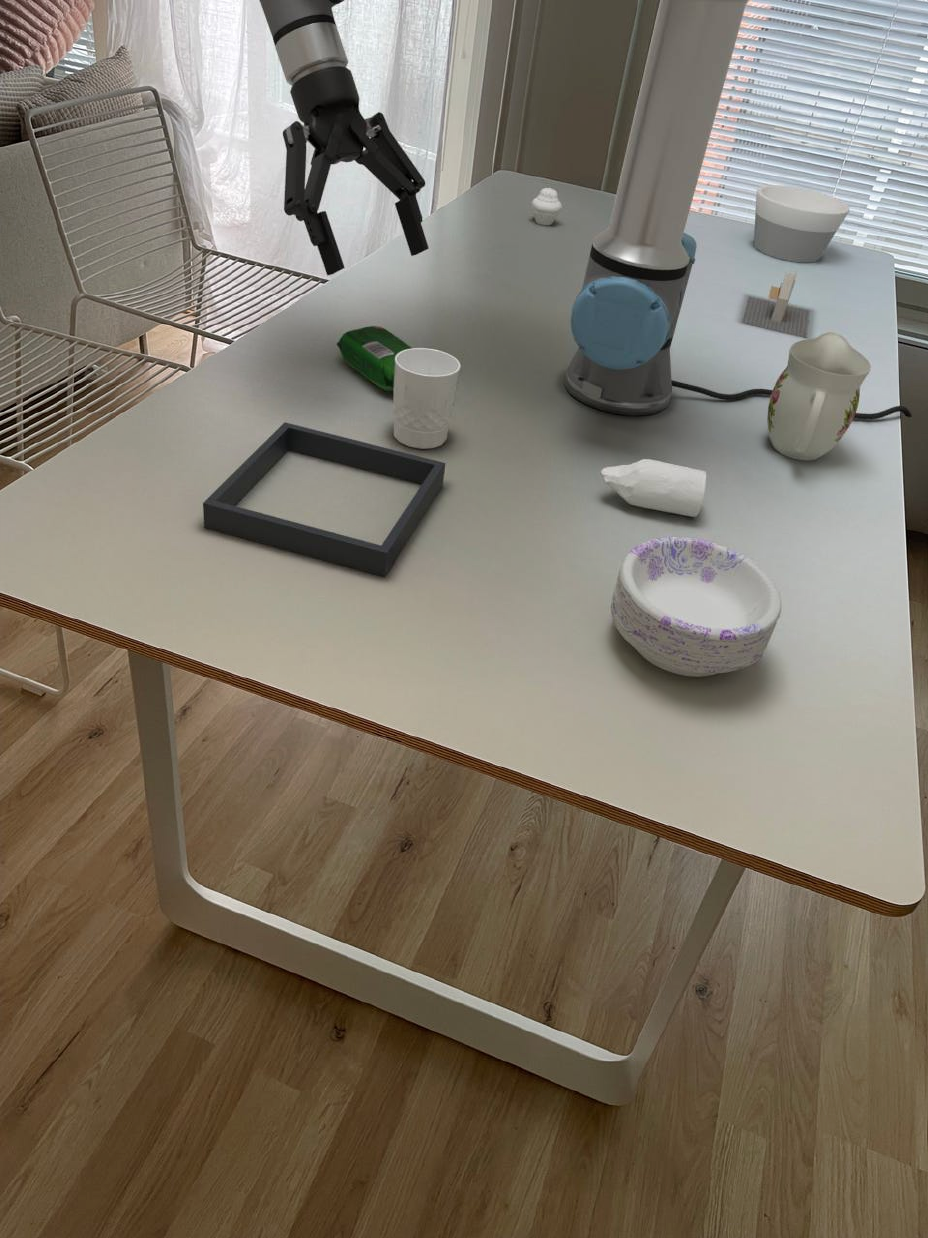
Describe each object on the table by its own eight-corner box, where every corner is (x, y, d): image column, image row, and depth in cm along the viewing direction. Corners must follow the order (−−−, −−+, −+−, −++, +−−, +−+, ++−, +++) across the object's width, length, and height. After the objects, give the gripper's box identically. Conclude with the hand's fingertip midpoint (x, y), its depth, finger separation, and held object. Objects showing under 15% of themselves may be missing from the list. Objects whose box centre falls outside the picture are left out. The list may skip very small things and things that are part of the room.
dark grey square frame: (442, 485, 113) (445, 462, 111) (385, 577, 98) (387, 552, 96) (284, 444, 116) (284, 421, 114) (203, 527, 100) (202, 502, 99)
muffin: (527, 224, 198) (533, 188, 194) (530, 216, 203) (536, 181, 199) (557, 229, 198) (563, 193, 194) (559, 221, 203) (565, 186, 199)
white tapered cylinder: (595, 482, 118) (605, 441, 115) (693, 501, 118) (705, 460, 114) (593, 507, 113) (603, 465, 110) (695, 526, 113) (708, 485, 109)
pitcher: (747, 468, 126) (781, 370, 117) (762, 414, 140) (794, 322, 131) (832, 492, 124) (873, 393, 115) (839, 435, 137) (876, 343, 129)
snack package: (390, 405, 127) (393, 368, 124) (331, 357, 137) (332, 321, 133) (434, 397, 131) (439, 361, 128) (374, 350, 140) (376, 315, 137)
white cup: (387, 419, 124) (394, 345, 118) (448, 423, 125) (457, 350, 119) (389, 449, 118) (395, 373, 112) (453, 454, 119) (463, 378, 113)
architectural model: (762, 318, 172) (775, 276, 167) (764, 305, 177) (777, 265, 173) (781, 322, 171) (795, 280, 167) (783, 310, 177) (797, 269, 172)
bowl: (843, 271, 200) (862, 218, 193) (752, 260, 199) (769, 205, 192) (817, 242, 215) (834, 191, 208) (733, 231, 214) (748, 179, 207)
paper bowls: (656, 713, 87) (680, 645, 82) (576, 610, 97) (592, 545, 92) (789, 681, 93) (818, 617, 88) (699, 588, 103) (721, 526, 98)
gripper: (380, 84, 123) (433, 253, 128) (213, 98, 108) (280, 289, 113) (416, 57, 117) (470, 235, 122) (244, 68, 102) (314, 271, 107)
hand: (379, 261), depth 118 cm, fingers open, 13 cm apart
